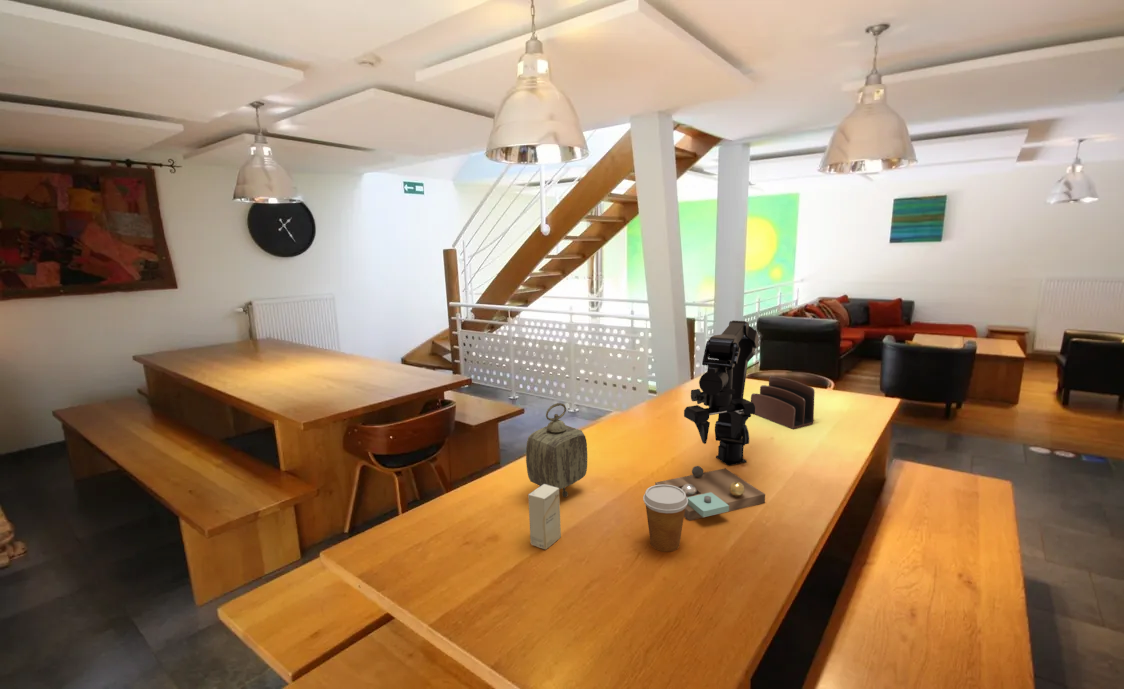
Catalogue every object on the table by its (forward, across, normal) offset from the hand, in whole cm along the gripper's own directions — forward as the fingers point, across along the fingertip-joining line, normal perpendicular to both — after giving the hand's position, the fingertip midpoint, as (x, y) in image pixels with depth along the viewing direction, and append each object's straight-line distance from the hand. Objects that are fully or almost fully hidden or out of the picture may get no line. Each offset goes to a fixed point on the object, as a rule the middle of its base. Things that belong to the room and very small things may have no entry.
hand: (718, 440), depth 141 cm
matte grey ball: (+8, +6, 0) cm, 10 cm away
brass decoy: (+8, +3, +12) cm, 15 cm away
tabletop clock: (+12, +42, -10) cm, 45 cm away
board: (+12, +7, +6) cm, 15 cm away
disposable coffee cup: (+12, +28, +20) cm, 36 cm away
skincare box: (+12, +52, +9) cm, 54 cm away
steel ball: (+10, +12, +5) cm, 17 cm away
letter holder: (+12, -50, -32) cm, 61 cm away
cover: (+10, +13, +14) cm, 21 cm away
